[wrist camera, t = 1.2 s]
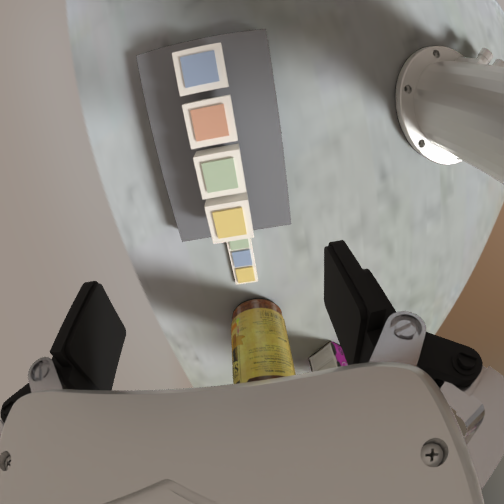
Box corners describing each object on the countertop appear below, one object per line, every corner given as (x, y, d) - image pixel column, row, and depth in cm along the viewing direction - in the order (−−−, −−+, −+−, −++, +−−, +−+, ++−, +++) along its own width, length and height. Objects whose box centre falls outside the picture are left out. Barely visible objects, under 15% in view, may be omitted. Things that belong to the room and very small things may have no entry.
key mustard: (207, 189, 24) (204, 208, 21) (245, 183, 24) (247, 200, 21) (215, 222, 26) (213, 245, 23) (251, 217, 26) (254, 238, 23)
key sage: (198, 146, 22) (192, 158, 19) (238, 139, 22) (239, 149, 19) (206, 183, 24) (202, 200, 21) (244, 176, 24) (246, 193, 21)
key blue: (181, 57, 18) (171, 52, 15) (222, 48, 18) (220, 41, 15) (188, 94, 20) (179, 96, 17) (229, 86, 20) (228, 86, 16)
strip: (224, 229, 28) (223, 232, 28) (248, 225, 28) (249, 228, 28) (236, 282, 32) (236, 285, 31) (258, 279, 32) (258, 282, 31)
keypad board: (143, 57, 19) (136, 55, 17) (263, 33, 19) (265, 28, 17) (185, 231, 28) (182, 241, 26) (287, 214, 28) (291, 224, 26)
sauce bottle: (222, 305, 34) (222, 477, 17) (273, 288, 33) (304, 465, 16) (243, 338, 37) (252, 488, 20) (289, 325, 36) (319, 477, 19)
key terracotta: (189, 101, 20) (181, 105, 17) (230, 93, 20) (230, 95, 17) (197, 139, 22) (190, 150, 19) (237, 132, 22) (237, 141, 18)
